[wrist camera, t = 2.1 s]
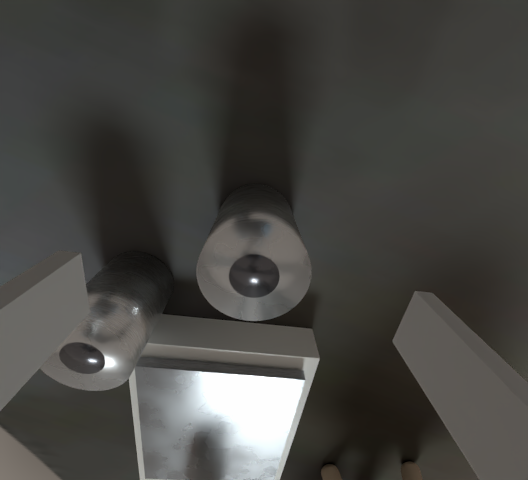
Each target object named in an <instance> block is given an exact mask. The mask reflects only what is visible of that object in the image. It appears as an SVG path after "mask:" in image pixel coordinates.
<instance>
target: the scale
mask: <svg viewBox="0 0 528 480" xmlns="http://www.w3.org/2000/svg"><path fill="white" fill-rule="evenodd" d="M140 357H152V358H163V359H175V360H187V361H199V362H211V363H222V364H234V365H246V366H258V367H269V368H281V369H293V370H304V375H305V383H304V386H303V389H302V393H301V396H300V399H299V402H298V405H297V409H296V412H295V415H294V418H293V421H292V425H291V428H290V431H289V434H288V437H287V441H286V444H285V447H284V450H283V453H282V457H281V460H280V463H279V466H278V469H277V473H276V476H275V479H274V480H280V478H281V475H282V471H283V468H284V465H285V462H286V459H287V456H288V453H289V450H290V447H291V444H292V441H293V438H294V435H295V432H296V429H297V426H298V423H299V420H300V417H301V414H302V411H303V408H304V405H305V402H306V399H307V396H308V393H309V390H310V387H311V384H312V381H313V378H314V375H315V372H316V369H317V366H318V363H319V360H320V357H319V353H318V349H317V346H316V342H315V338H314V334H313V330H312V329H310V328H300V327H290V326H280V325H269V324H259V323H249V322H239V321H229V320H218V319H208V318H198V317H188V316H178V315H167V314H161V316H160V318H159V320H158V322H157V324H156V326H155V328H154V330H153V332H152V334H151V336H150V338H149V340H148V342H147V344H146V346H145V348H144V350H143V352H142V354H141V356H140ZM129 384H130V393H131V403H132V412H133V421H134V430H135V439H136V448H137V457H138V466H139V475H140V480H163V479H145V472H144V462H143V451H142V440H141V430H140V419H139V408H138V398H137V387H136V376H135V368H134V370H133V372H132V374H131V376H130V377H129Z"/></svg>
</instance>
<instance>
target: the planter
mask: <svg viewBox="0 0 528 480" xmlns="http://www.w3.org/2000/svg"><path fill="white" fill-rule="evenodd" d="M401 473H402V480H423V479H422V475H421V472H420V469H419V467H418V465H417V464H415V463H414V462H410V461H409V462H405V463H404V464H403V465H402V466H401ZM321 475H322V478H323V480H342V477H341V475H340V473H339V470H338V468H337V467H336V466H334V465H332V464H327V465H325V466H323V468H322V470H321Z"/></svg>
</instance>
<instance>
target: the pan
mask: <svg viewBox="0 0 528 480" xmlns="http://www.w3.org/2000/svg"><path fill="white" fill-rule="evenodd" d="M135 376H136V387H137V398H138V408H139V419H140V430H141V440H142V451H143V462H144V472H145V479H163V480H274V479H275V476H276V473H277V469H278V466H279V463H280V460H281V457H282V453H283V450H284V447H285V444H286V441H287V437H288V434H289V431H290V428H291V425H292V421H293V418H294V415H295V412H296V409H297V405H298V402H299V399H300V396H301V393H302V389H303V386H304V383H305V375H304V370H293V369H281V368H269V367H258V366H246V365H234V364H222V363H211V362H199V361H187V360H175V359H163V358H152V357H140V358H139V360H138V362H137V364H136V366H135Z"/></svg>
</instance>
